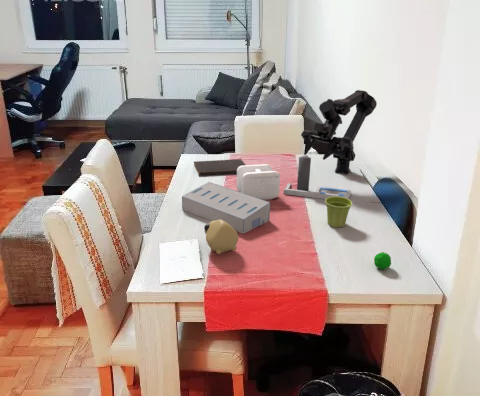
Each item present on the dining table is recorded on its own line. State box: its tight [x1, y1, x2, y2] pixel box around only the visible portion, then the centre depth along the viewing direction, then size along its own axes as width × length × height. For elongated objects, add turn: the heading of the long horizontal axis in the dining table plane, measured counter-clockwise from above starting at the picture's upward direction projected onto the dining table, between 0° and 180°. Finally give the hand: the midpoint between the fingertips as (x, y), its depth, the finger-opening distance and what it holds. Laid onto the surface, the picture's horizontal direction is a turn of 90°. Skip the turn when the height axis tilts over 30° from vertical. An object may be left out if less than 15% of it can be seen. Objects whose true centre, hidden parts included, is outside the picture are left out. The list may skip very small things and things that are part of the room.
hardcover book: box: [193, 158, 246, 177], centre depth 230 cm, size 16×23×2 cm
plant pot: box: [324, 197, 353, 228], centre depth 175 cm, size 9×9×9 cm
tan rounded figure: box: [203, 219, 239, 255], centre depth 155 cm, size 10×12×11 cm
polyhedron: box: [373, 251, 392, 270], centre depth 148 cm, size 5×5×5 cm
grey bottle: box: [296, 154, 312, 191], centre depth 204 cm, size 5×5×15 cm
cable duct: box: [283, 182, 351, 200], centre depth 204 cm, size 12×26×2 cm, turn 74°
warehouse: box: [181, 181, 271, 235], centre depth 181 cm, size 30×14×8 cm, turn 49°
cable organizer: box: [236, 163, 281, 201], centre depth 198 cm, size 15×11×12 cm
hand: (313, 156), depth 207 cm, fingers open, 9 cm apart
